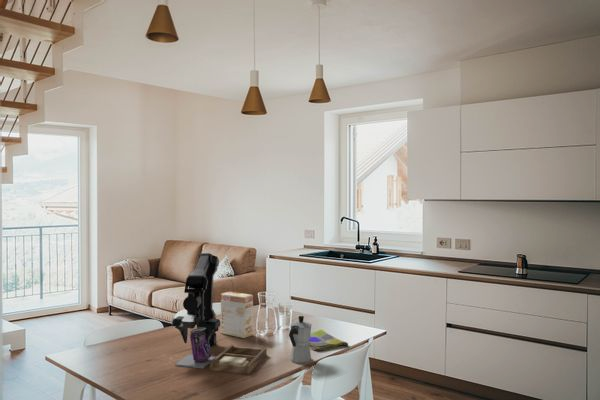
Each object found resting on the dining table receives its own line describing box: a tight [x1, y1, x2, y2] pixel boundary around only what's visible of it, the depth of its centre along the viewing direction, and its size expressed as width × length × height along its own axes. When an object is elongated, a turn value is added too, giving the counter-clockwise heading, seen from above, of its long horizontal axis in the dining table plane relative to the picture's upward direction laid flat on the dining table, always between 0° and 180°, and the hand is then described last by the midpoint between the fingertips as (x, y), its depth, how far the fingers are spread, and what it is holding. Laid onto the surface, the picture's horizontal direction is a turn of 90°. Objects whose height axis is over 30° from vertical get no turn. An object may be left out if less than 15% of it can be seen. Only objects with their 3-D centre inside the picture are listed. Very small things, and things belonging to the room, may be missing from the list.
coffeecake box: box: [220, 291, 254, 339], centre depth 229 cm, size 15×7×20 cm, turn 58°
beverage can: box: [189, 327, 212, 362], centre depth 190 cm, size 7×7×12 cm
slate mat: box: [174, 353, 217, 369], centre depth 191 cm, size 12×12×1 cm
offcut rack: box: [209, 344, 268, 375], centre depth 191 cm, size 16×22×3 cm
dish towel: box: [308, 329, 349, 352], centre depth 219 cm, size 18×24×3 cm
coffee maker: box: [288, 315, 312, 364], centre depth 193 cm, size 15×9×18 cm, turn 150°
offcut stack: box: [219, 356, 249, 366], centre depth 185 cm, size 11×6×4 cm, turn 78°
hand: (196, 343), depth 191 cm, fingers open, 9 cm apart
